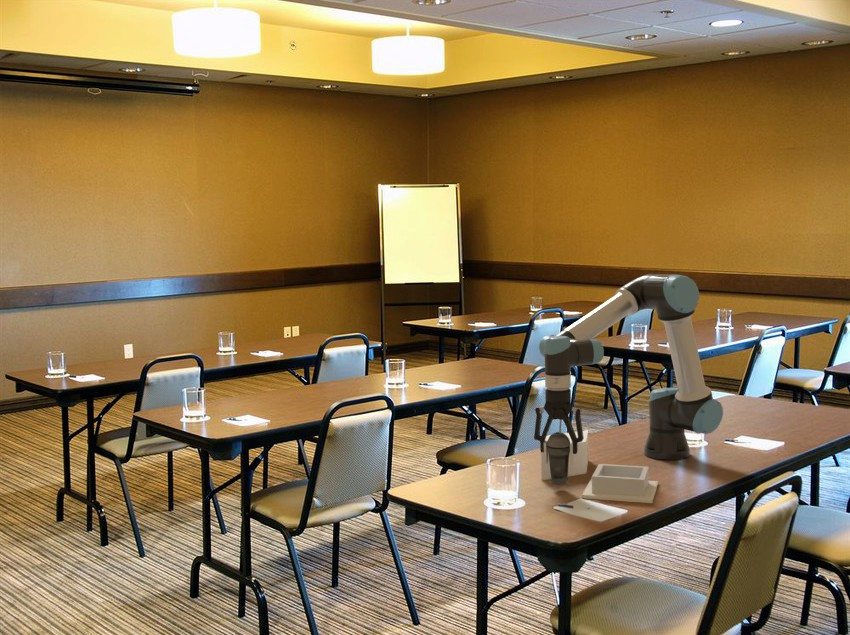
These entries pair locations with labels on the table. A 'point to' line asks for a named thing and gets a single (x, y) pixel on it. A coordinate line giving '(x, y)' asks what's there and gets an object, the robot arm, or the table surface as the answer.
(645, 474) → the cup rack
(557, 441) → the beverage cup
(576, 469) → the block
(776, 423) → the table surface
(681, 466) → the table surface
